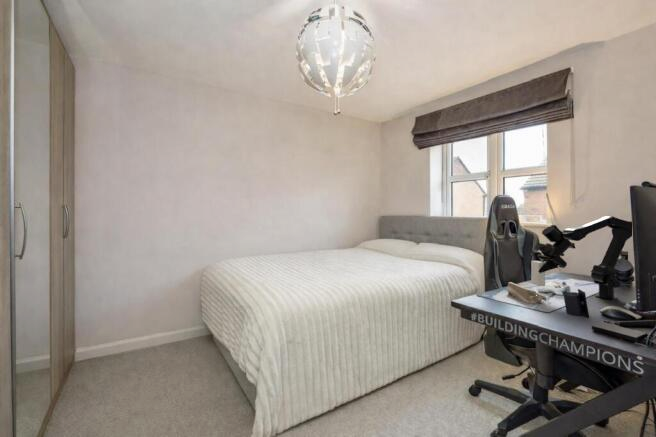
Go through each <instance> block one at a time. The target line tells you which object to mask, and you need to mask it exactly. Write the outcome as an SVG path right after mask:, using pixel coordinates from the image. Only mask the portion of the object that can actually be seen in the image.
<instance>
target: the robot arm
mask: <svg viewBox="0 0 656 437" xmlns="http://www.w3.org/2000/svg"><path fill="white" fill-rule="evenodd" d="M632 222H633V221H632V220H631V221H628V220H626V219H625V220H624V219H621V218H619V217H616V216H613V215H612V216H610V215H609V216H608V215H606V216H605V215H604V216H602V217H600V218H597V219H596V220H593V221H590V222H588V223H586V224H583V225H580V226H574V227H573V226H572V227H569V228H565V229H564V230H562V231H561V230H560V229H559V228H558V226H557V225H556V224H552V225H550V226H548V227H546V228H544V229H543V230H541V235H543V236H544V237H545V238H546V239H547V240H548V241H549V242H550V243H542V242H536V243H535V246H534V250H535V251H534V250H532V251H531V252H530V253H529V254H530V256H531V257H532V258H533V261H541V262H545V264H544V265H543V266H542V267H541V268H540V270H539V271H538V272H539V273H542V272H545V273H546V272H547V271H551V270H554V269H561V268H562V269H565V268H566V267H567V266H568V262H566V260H565V259H563V258H562V257H564V256H565V252H566V251H567V250H569V249H576V245H575V242H578V241H582V240H583V239H585V238H586V236H588V235H589V234H591V233H594V232H596V231H598V230H601V229H603V228H606V227H607V228H610V229H611V235H612V238H611V240H610V243H609V245H608V247H607V249H606V252H605V254H604V256H603V258H602V261H601V262H600V263H599V264H598V265H597V264H594V265H593V266H592V270H590V277H591V279H592V280H593V283H594V284H597V285H598V294H597V295H595V298H600V299H605V300H610V301H613V300H617V299H619V297H618V296H616V295H615V294H616V293H615V292H616V290H615V288H617V289H618V288H621V285H622V283H621V282H620V281H619V280H618V279H617V278H616V275H617V273H616V268H615V266H616V264H617V262H618V261H619V259H620V255H621V253H622V251H623V248H624V246H625V244H626V242H627V241H628V240H629V239H630V238H632V237H633V236H632ZM572 241H575V242H572ZM551 243H553V244H551ZM537 250H538V251H537Z"/></svg>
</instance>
